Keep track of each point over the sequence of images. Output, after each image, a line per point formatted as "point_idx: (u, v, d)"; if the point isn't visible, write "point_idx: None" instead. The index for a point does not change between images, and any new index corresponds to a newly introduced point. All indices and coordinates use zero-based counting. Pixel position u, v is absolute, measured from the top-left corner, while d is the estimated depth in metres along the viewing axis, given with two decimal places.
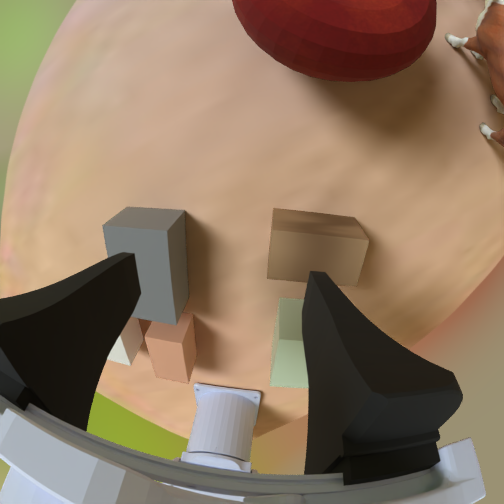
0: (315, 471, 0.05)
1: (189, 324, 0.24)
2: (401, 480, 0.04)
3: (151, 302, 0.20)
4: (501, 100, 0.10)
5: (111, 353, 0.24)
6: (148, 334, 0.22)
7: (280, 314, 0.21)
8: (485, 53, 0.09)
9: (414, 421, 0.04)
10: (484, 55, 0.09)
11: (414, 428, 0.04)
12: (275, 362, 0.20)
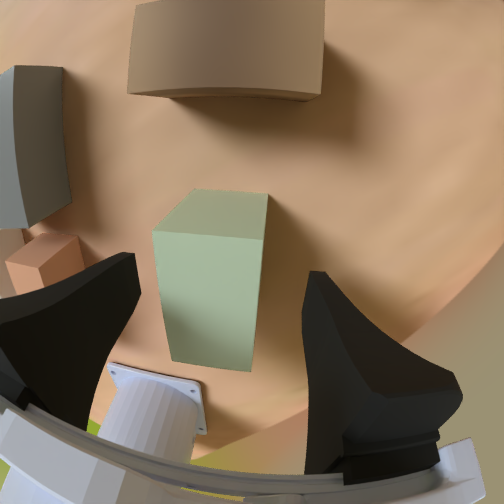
0: (315, 471, 0.05)
1: (66, 248, 0.13)
2: (401, 480, 0.04)
3: (1, 192, 0.09)
4: None
5: None
6: (10, 258, 0.11)
7: (181, 203, 0.11)
8: None
9: (414, 421, 0.04)
10: None
11: (414, 428, 0.04)
12: (162, 300, 0.09)
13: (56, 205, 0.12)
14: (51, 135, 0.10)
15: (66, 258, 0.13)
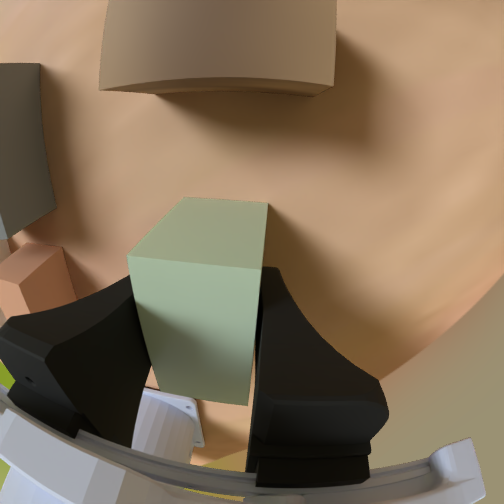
0: None
1: (49, 261, 0.12)
2: (323, 492, 0.04)
3: None
4: None
5: None
6: None
7: (165, 216, 0.09)
8: None
9: (326, 430, 0.04)
10: None
11: (332, 437, 0.04)
12: (144, 332, 0.08)
13: (38, 212, 0.10)
14: (29, 136, 0.09)
15: (49, 272, 0.12)
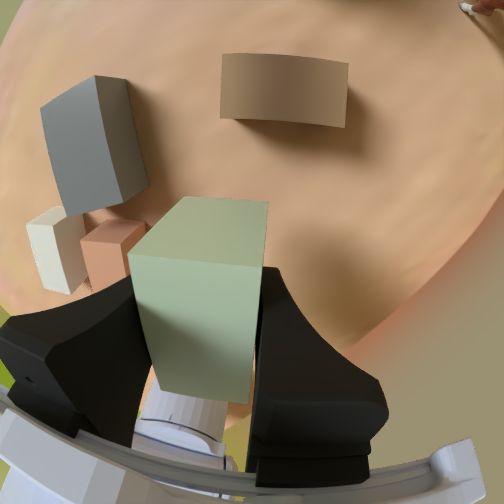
0: None
1: (137, 230, 0.18)
2: (323, 492, 0.04)
3: (90, 178, 0.14)
4: None
5: (50, 278, 0.18)
6: (85, 238, 0.16)
7: (166, 215, 0.09)
8: None
9: (326, 430, 0.04)
10: None
11: (332, 437, 0.04)
12: (145, 330, 0.08)
13: (139, 187, 0.17)
14: (128, 131, 0.15)
15: (137, 238, 0.18)
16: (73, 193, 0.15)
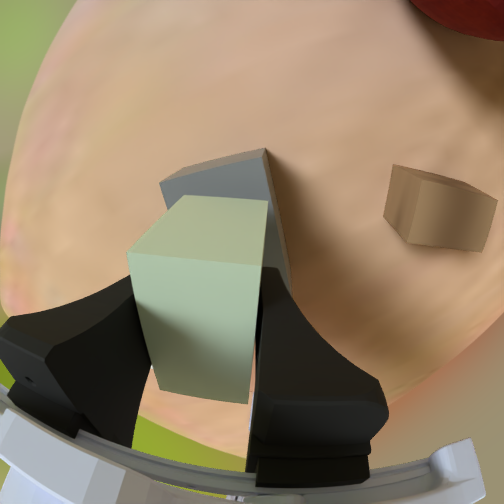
0: None
1: None
2: (323, 492, 0.04)
3: None
4: None
5: None
6: None
7: (165, 214, 0.09)
8: None
9: (326, 430, 0.04)
10: None
11: (332, 437, 0.04)
12: (144, 329, 0.08)
13: None
14: (279, 217, 0.16)
15: None
16: None
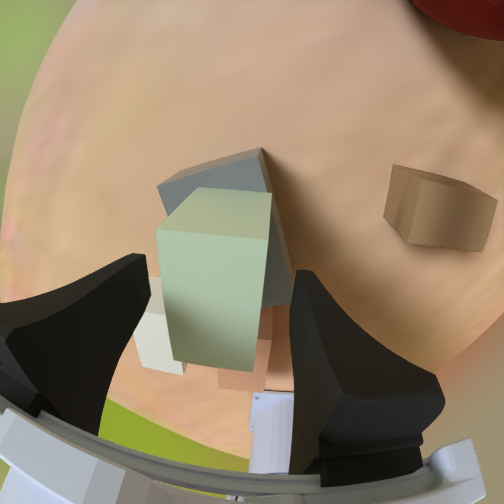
0: (296, 471, 0.05)
1: (272, 315, 0.19)
2: (381, 484, 0.04)
3: None
4: None
5: (157, 360, 0.19)
6: None
7: (184, 202, 0.11)
8: None
9: (392, 424, 0.04)
10: None
11: (394, 431, 0.04)
12: (165, 299, 0.09)
13: None
14: (279, 216, 0.16)
15: None
16: None
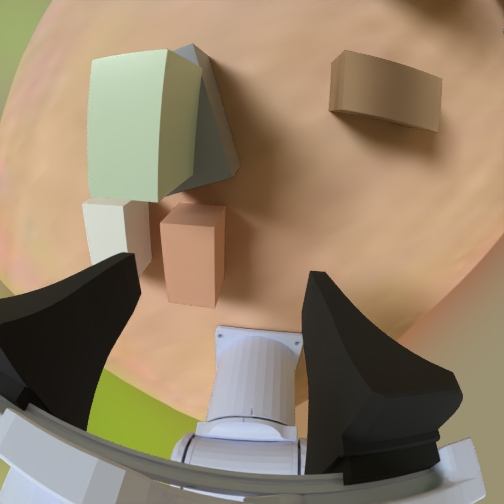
0: (315, 471, 0.05)
1: (222, 214, 0.18)
2: (401, 480, 0.04)
3: None
4: None
5: None
6: (165, 221, 0.16)
7: None
8: None
9: (414, 421, 0.04)
10: None
11: (414, 428, 0.04)
12: (88, 120, 0.09)
13: (236, 165, 0.17)
14: (221, 107, 0.15)
15: (221, 223, 0.18)
16: None
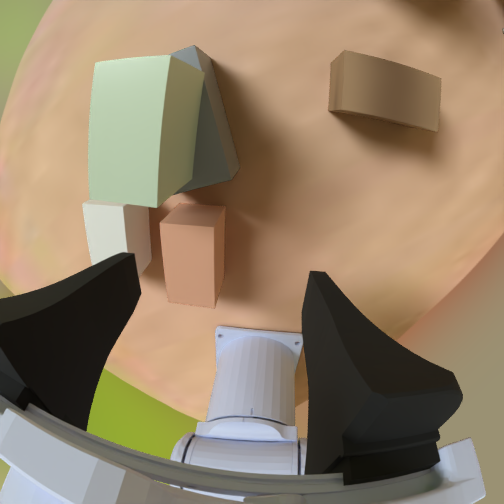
0: (315, 471, 0.05)
1: (221, 214, 0.18)
2: (401, 480, 0.04)
3: None
4: None
5: None
6: (165, 221, 0.16)
7: None
8: None
9: (414, 421, 0.04)
10: None
11: (414, 428, 0.04)
12: (90, 123, 0.09)
13: (236, 166, 0.17)
14: (222, 109, 0.15)
15: (221, 223, 0.18)
16: None
